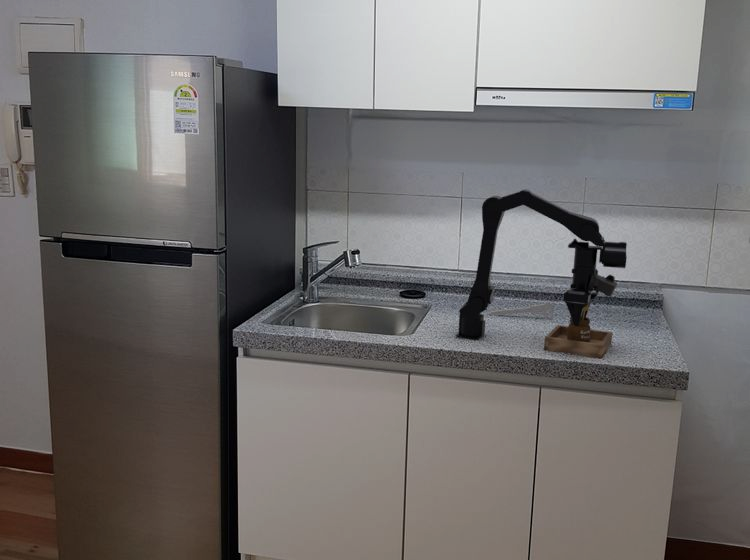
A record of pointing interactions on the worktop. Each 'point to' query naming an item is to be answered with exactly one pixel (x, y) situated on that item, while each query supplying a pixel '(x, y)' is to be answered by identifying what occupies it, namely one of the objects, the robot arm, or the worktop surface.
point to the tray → (578, 342)
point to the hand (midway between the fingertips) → (580, 322)
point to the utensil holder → (580, 329)
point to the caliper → (527, 310)
